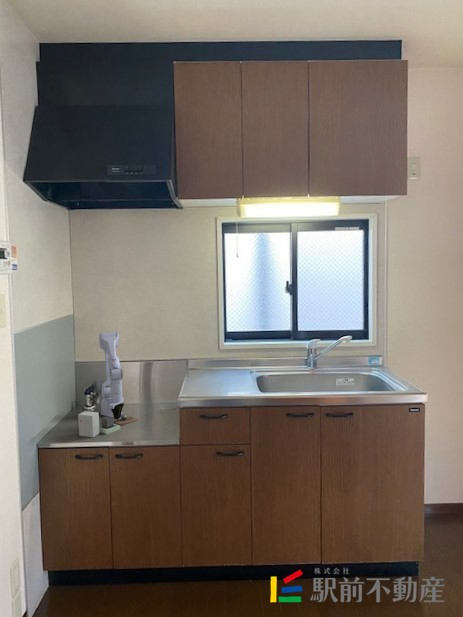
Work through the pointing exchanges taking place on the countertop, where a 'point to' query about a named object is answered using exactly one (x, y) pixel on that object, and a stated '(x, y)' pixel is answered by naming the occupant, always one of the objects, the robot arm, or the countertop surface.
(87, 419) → the small box
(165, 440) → the countertop surface
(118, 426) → the tray
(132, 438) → the countertop surface
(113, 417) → the crank
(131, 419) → the crank base
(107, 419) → the block
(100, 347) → the robot arm
